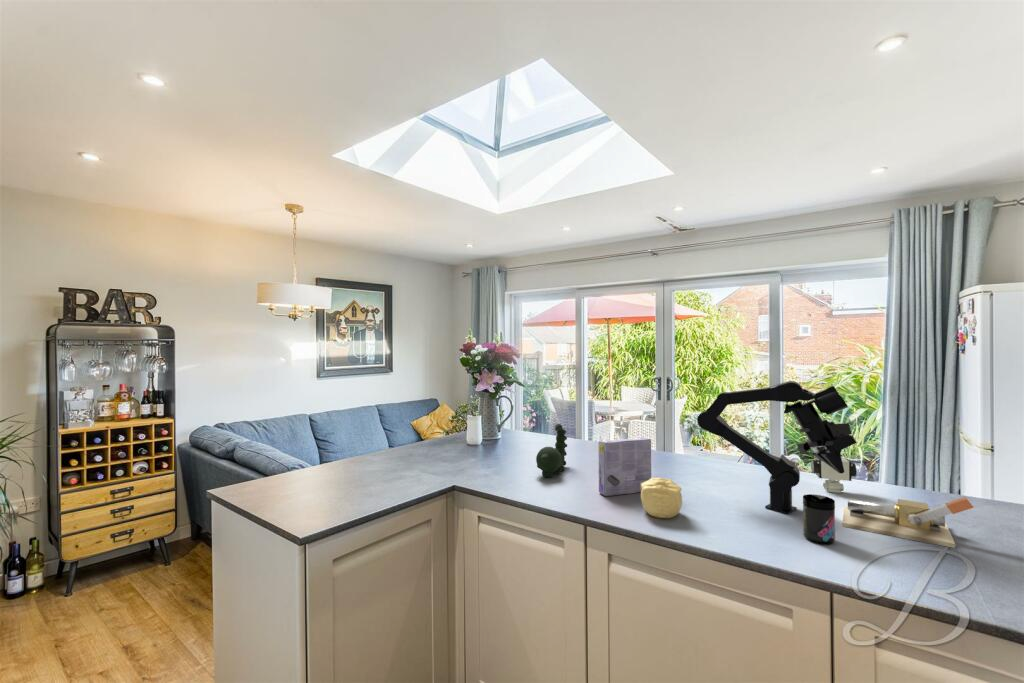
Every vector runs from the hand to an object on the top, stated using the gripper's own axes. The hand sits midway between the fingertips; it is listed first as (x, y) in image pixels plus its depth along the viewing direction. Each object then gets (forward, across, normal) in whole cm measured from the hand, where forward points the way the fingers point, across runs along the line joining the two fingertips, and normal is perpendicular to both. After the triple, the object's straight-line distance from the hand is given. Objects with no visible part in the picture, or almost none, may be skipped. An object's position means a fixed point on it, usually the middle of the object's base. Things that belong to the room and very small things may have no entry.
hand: (842, 472), depth 128 cm
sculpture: (-9, +6, +50) cm, 51 cm away
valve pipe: (+16, 0, -5) cm, 17 cm away
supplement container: (+9, -9, +20) cm, 24 cm away
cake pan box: (-16, +25, +54) cm, 61 cm away
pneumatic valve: (+11, +27, -9) cm, 30 cm away
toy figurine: (-31, +45, +74) cm, 92 cm away
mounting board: (+17, -1, -4) cm, 17 cm away
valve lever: (+16, -5, -5) cm, 17 cm away
